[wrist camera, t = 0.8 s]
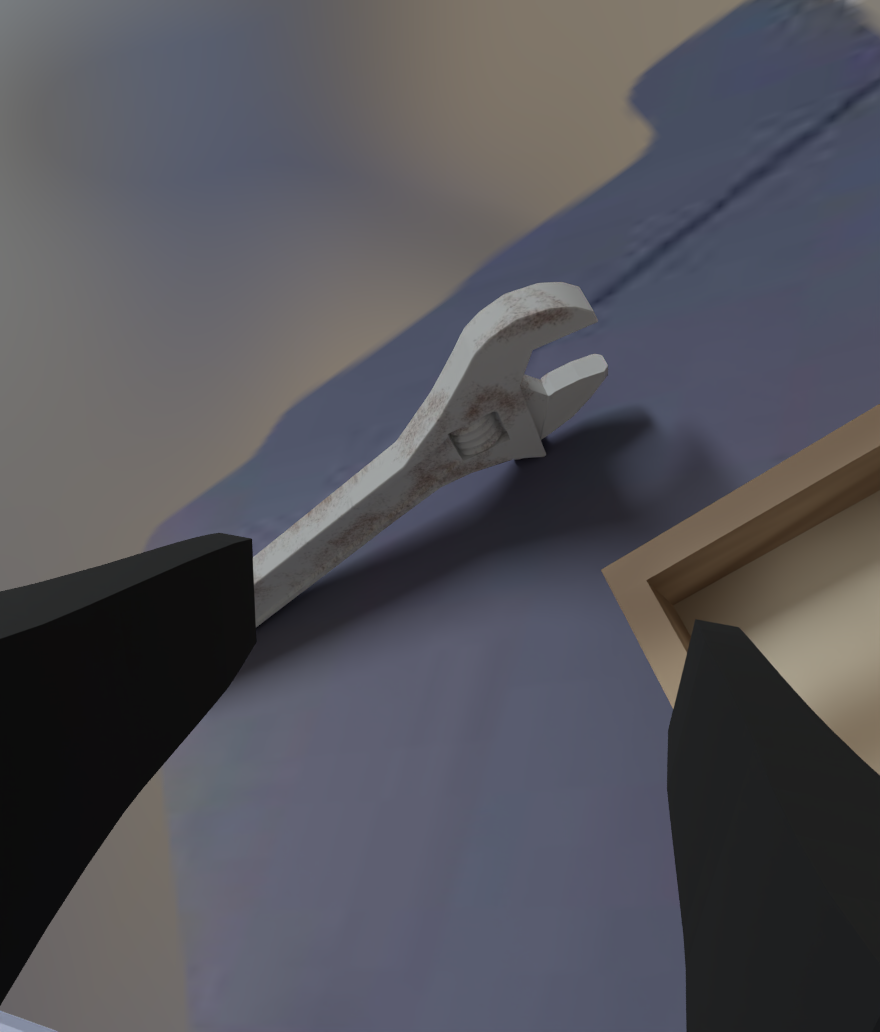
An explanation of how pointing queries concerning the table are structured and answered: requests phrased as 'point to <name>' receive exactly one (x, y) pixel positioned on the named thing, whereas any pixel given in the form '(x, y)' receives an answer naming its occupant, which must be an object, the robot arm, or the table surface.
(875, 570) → the cubby base
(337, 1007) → the table surface
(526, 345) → the wrench
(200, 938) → the table surface
